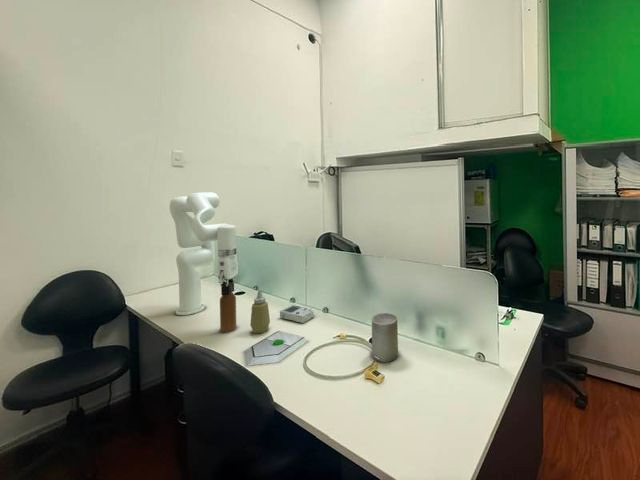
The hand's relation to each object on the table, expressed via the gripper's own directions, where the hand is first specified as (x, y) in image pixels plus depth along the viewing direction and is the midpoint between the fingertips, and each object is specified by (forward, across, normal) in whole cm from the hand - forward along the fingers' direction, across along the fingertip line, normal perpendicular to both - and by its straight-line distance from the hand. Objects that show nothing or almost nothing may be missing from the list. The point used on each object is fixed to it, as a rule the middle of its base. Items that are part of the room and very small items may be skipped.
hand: (227, 292), depth 133 cm
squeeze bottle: (+17, -2, -15) cm, 22 cm away
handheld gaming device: (+17, +10, -28) cm, 34 cm away
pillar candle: (+17, -26, -69) cm, 76 cm away
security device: (+17, -19, -26) cm, 36 cm away
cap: (-1, 0, 0) cm, 1 cm away
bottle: (+16, 0, 0) cm, 16 cm away
